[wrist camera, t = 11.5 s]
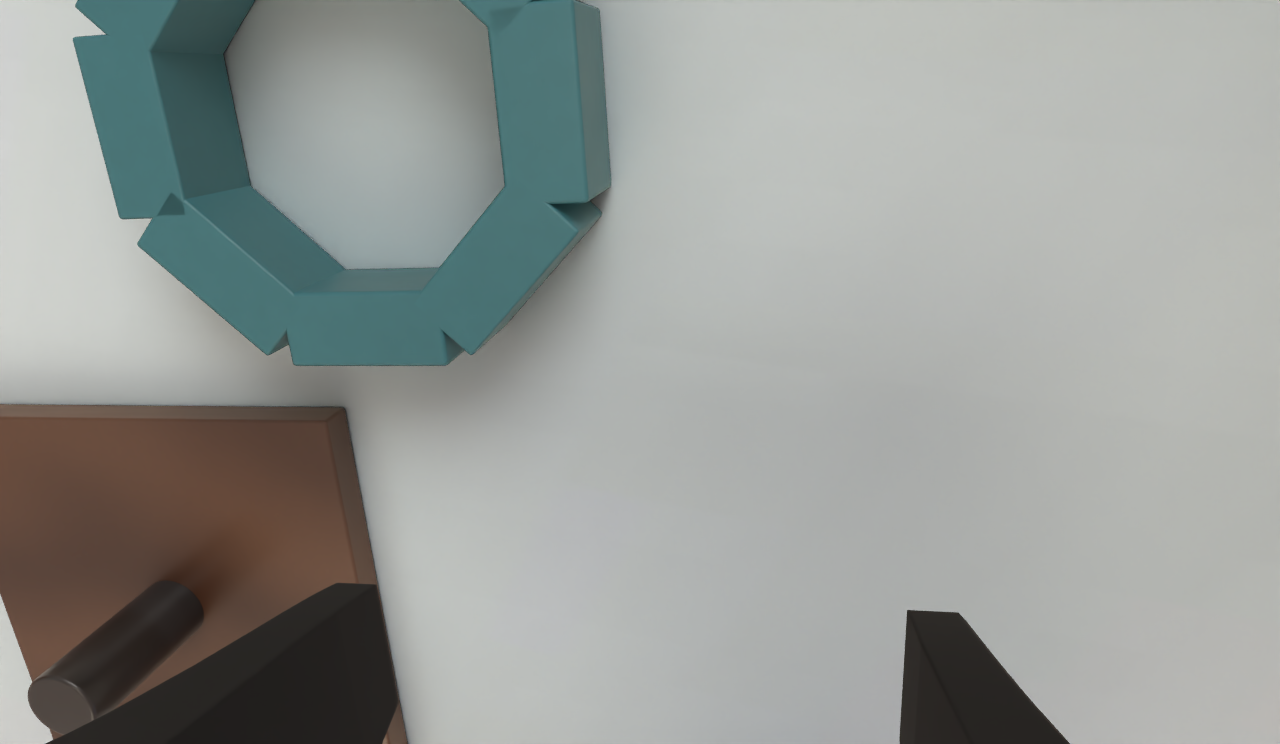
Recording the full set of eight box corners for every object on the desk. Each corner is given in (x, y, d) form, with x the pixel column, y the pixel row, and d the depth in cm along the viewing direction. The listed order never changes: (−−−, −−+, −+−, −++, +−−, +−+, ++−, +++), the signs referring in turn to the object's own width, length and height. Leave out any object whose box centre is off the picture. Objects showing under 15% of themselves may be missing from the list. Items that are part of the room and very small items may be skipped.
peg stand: (411, 758, 25) (327, 912, 21) (81, 729, 27) (-63, 864, 23) (345, 406, 21) (224, 497, 17) (-33, 403, 23) (-235, 484, 19)
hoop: (621, 333, 20) (600, 366, 17) (223, 336, 21) (157, 367, 19) (587, -183, 16) (556, -224, 14) (115, -128, 18) (19, -157, 16)
